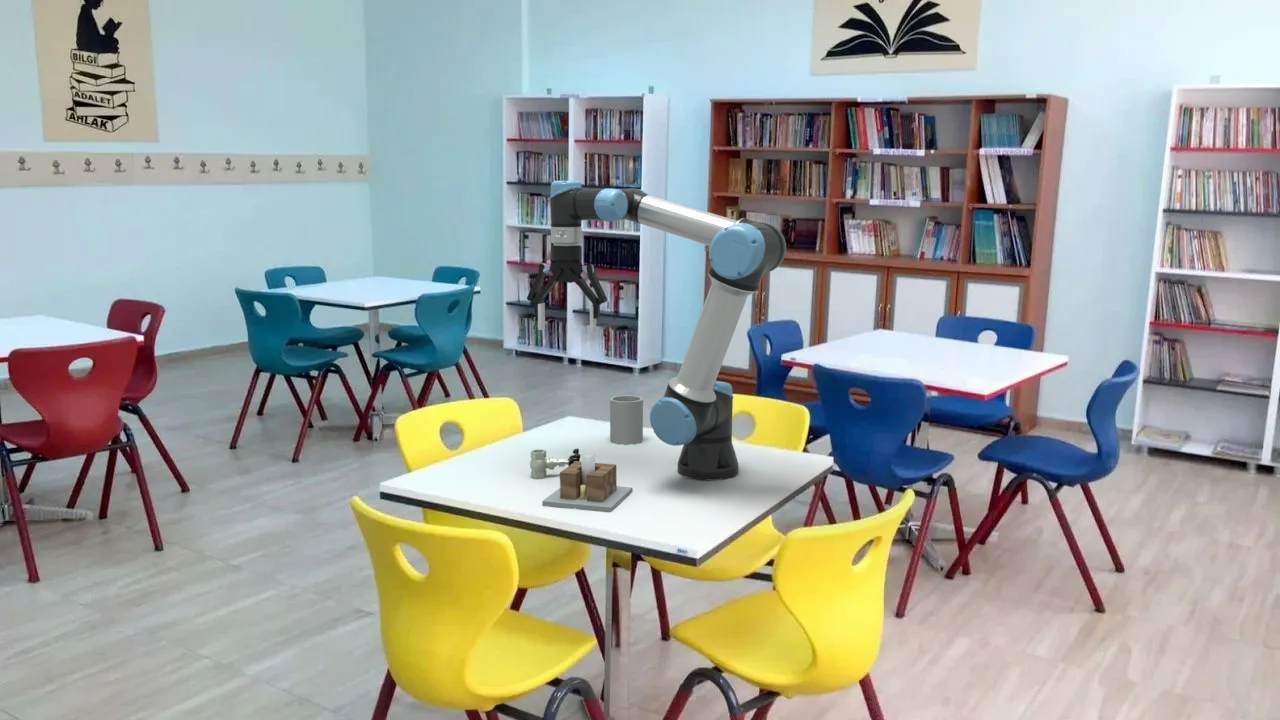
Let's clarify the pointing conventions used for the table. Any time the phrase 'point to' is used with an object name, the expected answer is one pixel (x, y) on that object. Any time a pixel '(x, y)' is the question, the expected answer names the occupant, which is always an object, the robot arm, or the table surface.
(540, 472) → the valve
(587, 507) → the post board
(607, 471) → the brown u-shaped block
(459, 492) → the table surface
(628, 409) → the cup
